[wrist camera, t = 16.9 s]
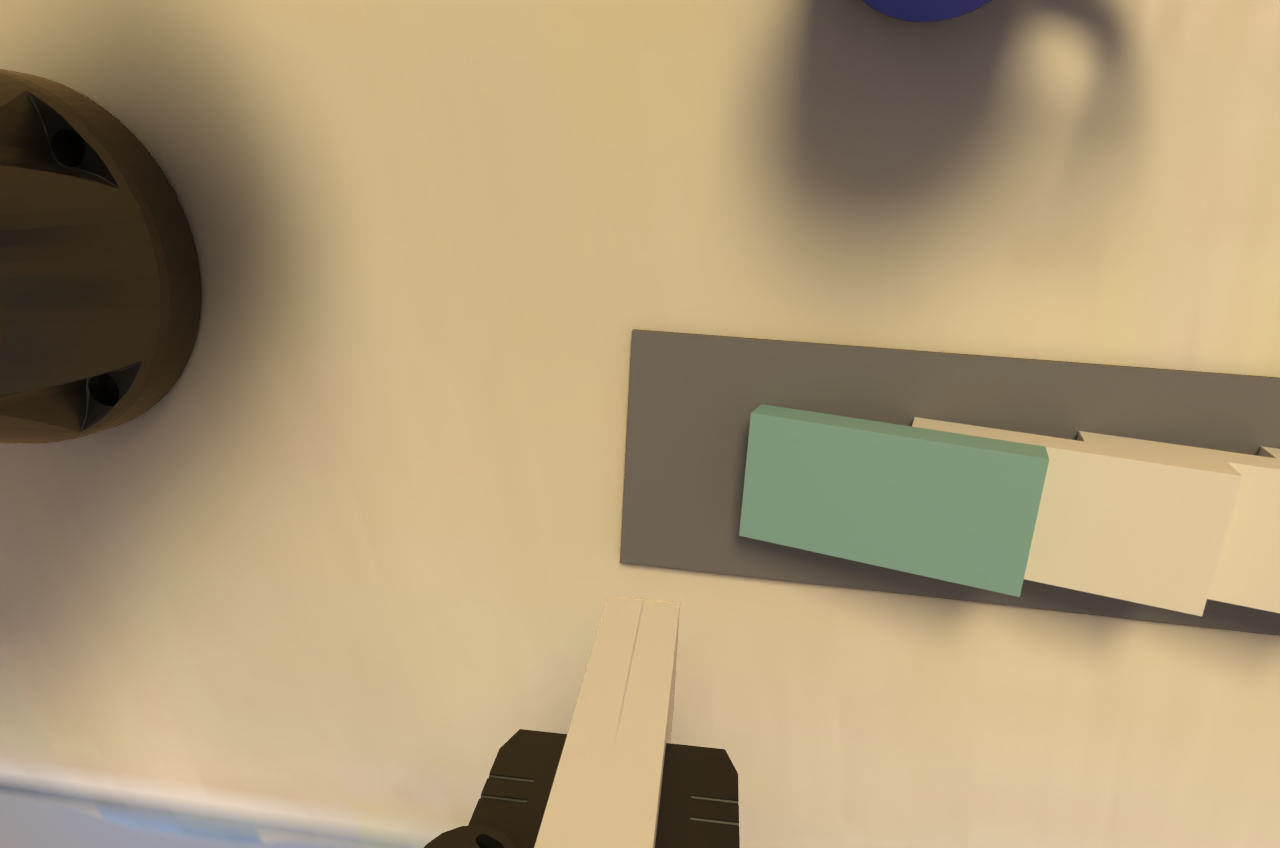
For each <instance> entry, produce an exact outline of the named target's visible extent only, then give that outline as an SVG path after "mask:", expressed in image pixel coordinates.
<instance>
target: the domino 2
mask: <svg viewBox="0 0 1280 848" xmlns="http://www.w3.org/2000/svg"><path fill="white" fill-rule="evenodd" d="M1077 440H1078V441H1084V442H1091V443H1098V444H1105V445H1112V446H1119V447H1126V448H1133V449H1140V450H1146V451H1153V452H1160V453H1167V454H1174V455H1181V456H1188V457H1195V458H1202V459H1209V460H1215V461H1222V462H1228V463H1229V464H1230V465H1231V466H1232V467H1233V468H1235V469H1236V470H1237V471H1238V472H1239V473H1240V474H1241V475H1242V476H1243V478H1242V482H1241V485H1240V489H1239V492H1238V495H1237V499H1236V502H1235V506H1234V509H1233V512H1232V516H1231V519H1230V523H1229V526H1228V530H1227V533H1226V536H1225V540H1224V543H1223V547H1222V550H1221V553H1220V557H1219V560H1218V564H1217V567H1216V570H1215V574H1214V577H1213V581H1212V584H1211V587H1210V591H1209V594H1208V598H1207V599H1210V600H1215V601H1220V602H1225V603H1230V604H1235V605H1240V606H1245V607H1250V608H1255V609H1260V610H1265V611H1270V612H1275V613H1280V459H1278V458H1270V457H1263V456H1256V455H1249V454H1242V453H1235V452H1227V451H1220V450H1213V449H1206V448H1199V447H1192V446H1184V445H1177V444H1170V443H1163V442H1156V441H1148V440H1141V439H1134V438H1127V437H1120V436H1113V435H1105V434H1098V433H1091V432H1084V431H1079V432H1078V436H1077Z"/></svg>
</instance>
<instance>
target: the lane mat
mask: <svg viewBox="0 0 1280 848" xmlns="http://www.w3.org/2000/svg"><path fill="white" fill-rule="evenodd" d="M761 404H765V405H771V406H778V407H785V408H791V409H798V410H805V411H811V412H818V413H825V414H831V415H838V416H845V417H851V418H858V419H865V420H871V421H878V422H885V423H891V424H898V425H905V426H911V427H912V424H913V421H914V417H919V418H926V419H933V420H940V421H946V422H953V423H960V424H967V425H974V426H981V427H988V428H995V429H1002V430H1009V431H1015V432H1022V433H1029V434H1036V435H1043V436H1050V437H1057V438H1064V439H1071V440H1077V436H1078V432H1079V431H1084V432H1091V433H1098V434H1105V435H1113V436H1120V437H1127V438H1134V439H1141V440H1148V441H1156V442H1163V443H1170V444H1177V445H1184V446H1192V447H1199V448H1206V449H1213V450H1220V451H1227V452H1235V453H1242V454H1249V455H1256V456H1258V453H1259V450H1260V447H1261V446H1263V447H1271V448H1278V449H1280V378H1276V377H1263V376H1250V375H1236V374H1223V373H1210V372H1196V371H1183V370H1169V369H1156V368H1143V367H1129V366H1116V365H1102V364H1089V363H1076V362H1062V361H1049V360H1036V359H1022V358H1009V357H995V356H982V355H969V354H955V353H942V352H928V351H915V350H902V349H888V348H875V347H861V346H848V345H835V344H821V343H808V342H795V341H781V340H768V339H754V338H741V337H728V336H714V335H701V334H687V333H674V332H661V331H647V330H634V329H633V331H632V342H631V361H630V381H629V400H628V420H627V439H626V459H625V478H624V498H623V517H622V537H621V557H620V562H622V563H631V564H640V565H649V566H658V567H667V568H676V569H685V570H694V571H703V572H712V573H721V574H730V575H739V576H748V577H757V578H766V579H775V580H784V581H793V582H802V583H811V584H820V585H829V586H838V587H847V588H856V589H865V590H874V591H883V592H892V593H901V594H910V595H919V596H928V597H937V598H946V599H955V600H964V601H973V602H982V603H991V604H1001V605H1010V606H1019V607H1028V608H1037V609H1046V610H1055V611H1064V612H1073V613H1082V614H1091V615H1100V616H1109V617H1118V618H1127V619H1136V620H1145V621H1154V622H1163V623H1172V624H1181V625H1190V626H1199V627H1208V628H1217V629H1226V630H1235V631H1244V632H1253V633H1262V634H1271V635H1280V613H1275V612H1270V611H1265V610H1260V609H1255V608H1250V607H1245V606H1240V605H1235V604H1230V603H1225V602H1220V601H1215V600H1210V599H1207V601H1206V605H1205V608H1204V611H1203V615H1202V616H1197V615H1192V614H1188V613H1183V612H1178V611H1173V610H1169V609H1164V608H1159V607H1154V606H1149V605H1145V604H1140V603H1135V602H1130V601H1126V600H1121V599H1116V598H1111V597H1107V596H1102V595H1097V594H1092V593H1088V592H1083V591H1078V590H1073V589H1068V588H1064V587H1059V586H1054V585H1049V584H1045V583H1040V582H1035V581H1030V580H1026V579H1024V580H1023V585H1022V589H1021V594H1020V597H1017V596H1012V595H1008V594H1003V593H999V592H994V591H989V590H985V589H980V588H976V587H971V586H967V585H962V584H958V583H953V582H948V581H944V580H939V579H935V578H930V577H926V576H921V575H917V574H912V573H907V572H903V571H898V570H894V569H889V568H885V567H880V566H876V565H871V564H867V563H862V562H857V561H853V560H848V559H844V558H839V557H835V556H830V555H826V554H821V553H816V552H812V551H807V550H803V549H798V548H794V547H789V546H785V545H780V544H775V543H771V542H766V541H762V540H757V539H753V538H748V537H744V536H739V531H740V521H741V511H742V500H743V490H744V480H745V469H746V459H747V449H748V438H749V428H750V417H751V413H752V412H753V411H754V410H755V409H756V408H758V407H759V406H760V405H761Z"/></svg>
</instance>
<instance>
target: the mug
mask: <svg viewBox="0 0 1280 848" xmlns="http://www.w3.org/2000/svg"><path fill="white" fill-rule="evenodd" d="M863 1H864V2H865V3H866V4H868V5H869V6H871V7H872V8H874V9H875V10H877V11H879V12H881V13H883V14H885V15H888V16H891V17H894V18H897V19H901V20H906V21H914V22H932V21H940V20H946V19H950V18H954V17H957V16H960V15H963V14H966V13H968V12H971V11H973V10H975V9H977V8H979V7H981V6H983V5H985V4H986V3H988V2H990V1H992V0H863Z"/></svg>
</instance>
